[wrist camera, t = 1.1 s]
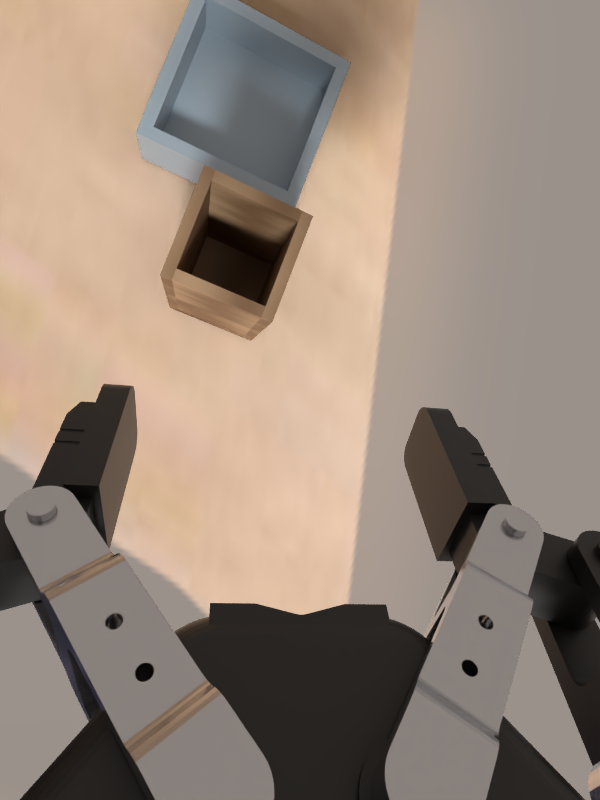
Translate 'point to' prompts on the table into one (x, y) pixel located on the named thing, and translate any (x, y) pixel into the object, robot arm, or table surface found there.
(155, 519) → the table surface
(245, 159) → the blue crate
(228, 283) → the walnut crate
